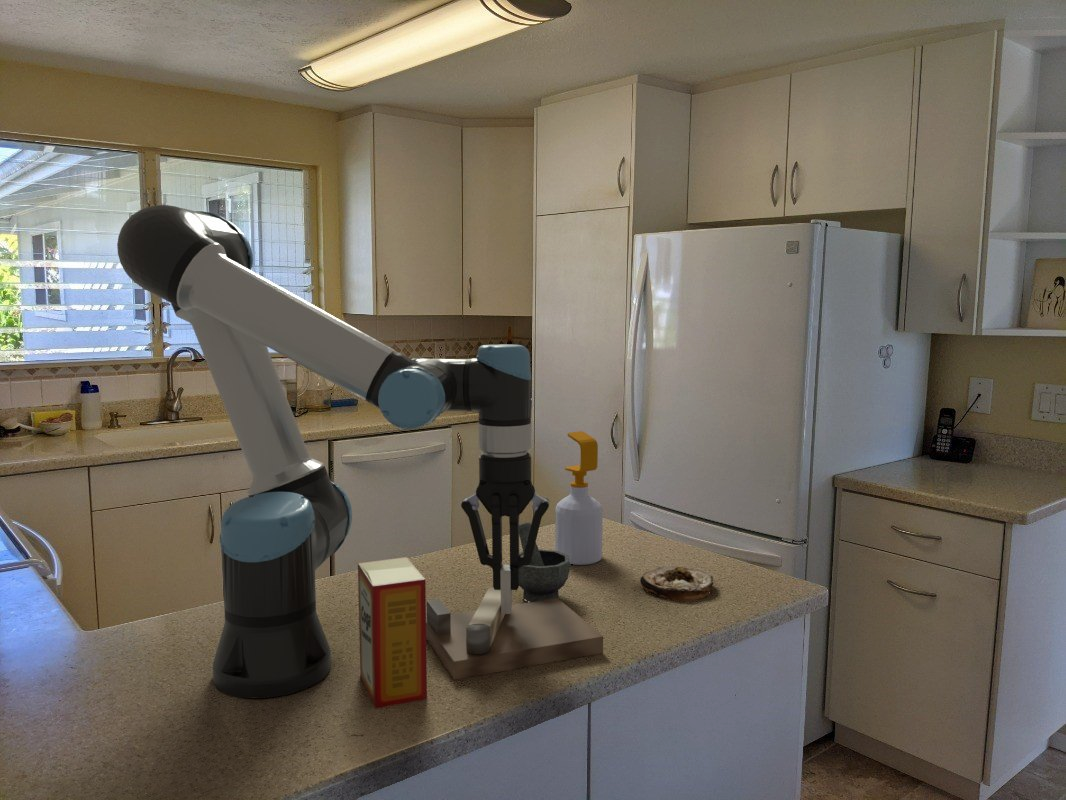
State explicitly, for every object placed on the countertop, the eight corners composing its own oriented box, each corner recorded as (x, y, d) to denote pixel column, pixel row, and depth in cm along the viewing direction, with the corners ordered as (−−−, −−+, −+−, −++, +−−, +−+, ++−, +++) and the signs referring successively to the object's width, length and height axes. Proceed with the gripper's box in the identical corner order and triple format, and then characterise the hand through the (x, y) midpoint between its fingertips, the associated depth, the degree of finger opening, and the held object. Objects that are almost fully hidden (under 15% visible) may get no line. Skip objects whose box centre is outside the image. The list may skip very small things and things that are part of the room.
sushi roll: (615, 586, 146) (616, 564, 146) (676, 570, 155) (676, 549, 154) (676, 612, 134) (677, 587, 134) (738, 593, 143) (739, 570, 143)
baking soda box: (360, 675, 111) (357, 560, 109) (408, 667, 113) (406, 554, 111) (375, 708, 102) (372, 583, 100) (427, 698, 105) (425, 576, 103)
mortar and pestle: (581, 600, 138) (581, 530, 137) (535, 613, 133) (535, 540, 131) (540, 581, 147) (541, 515, 146) (496, 592, 142) (496, 524, 140)
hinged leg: (487, 655, 111) (487, 633, 111) (464, 653, 112) (463, 632, 111) (509, 606, 128) (509, 587, 128) (488, 605, 129) (488, 586, 128)
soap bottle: (579, 548, 167) (580, 427, 164) (611, 559, 160) (613, 433, 157) (545, 557, 161) (546, 432, 158) (577, 569, 154) (578, 438, 151)
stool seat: (454, 679, 110) (453, 639, 109) (423, 633, 125) (422, 598, 124) (603, 653, 118) (603, 616, 117) (557, 613, 133) (557, 580, 132)
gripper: (551, 447, 123) (551, 601, 125) (463, 447, 123) (465, 600, 126) (549, 457, 115) (549, 620, 118) (456, 456, 116) (459, 619, 119)
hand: (506, 610), depth 122 cm, fingers closed
